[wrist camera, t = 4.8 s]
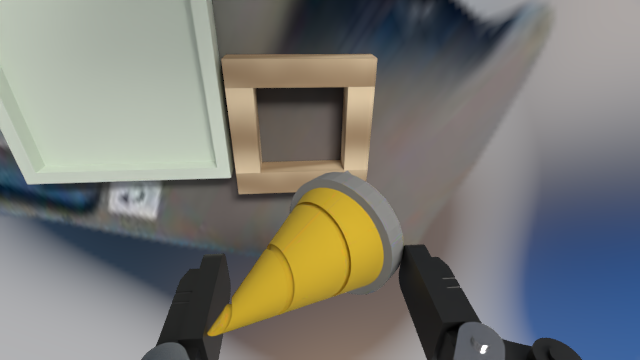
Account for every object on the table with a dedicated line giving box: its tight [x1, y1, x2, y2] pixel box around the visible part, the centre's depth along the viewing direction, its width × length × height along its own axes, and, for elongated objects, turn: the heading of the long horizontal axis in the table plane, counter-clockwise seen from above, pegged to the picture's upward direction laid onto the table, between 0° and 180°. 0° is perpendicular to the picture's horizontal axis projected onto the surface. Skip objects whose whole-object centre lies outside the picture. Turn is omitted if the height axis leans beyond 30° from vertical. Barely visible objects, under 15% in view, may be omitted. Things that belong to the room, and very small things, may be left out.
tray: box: [0, 0, 234, 184], centre depth 24 cm, size 16×16×2 cm
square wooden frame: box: [221, 54, 377, 194], centre depth 27 cm, size 11×11×2 cm
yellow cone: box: [207, 170, 404, 336], centre depth 13 cm, size 5×5×10 cm
